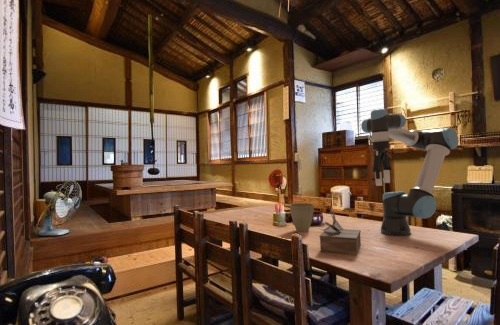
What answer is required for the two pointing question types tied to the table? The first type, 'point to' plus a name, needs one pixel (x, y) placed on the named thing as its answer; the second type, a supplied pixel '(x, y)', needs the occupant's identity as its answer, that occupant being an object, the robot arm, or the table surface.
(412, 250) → the table surface
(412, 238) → the table surface
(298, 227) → the plant pot
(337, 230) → the origami crane
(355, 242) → the walnut box
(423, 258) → the table surface
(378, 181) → the robot arm
